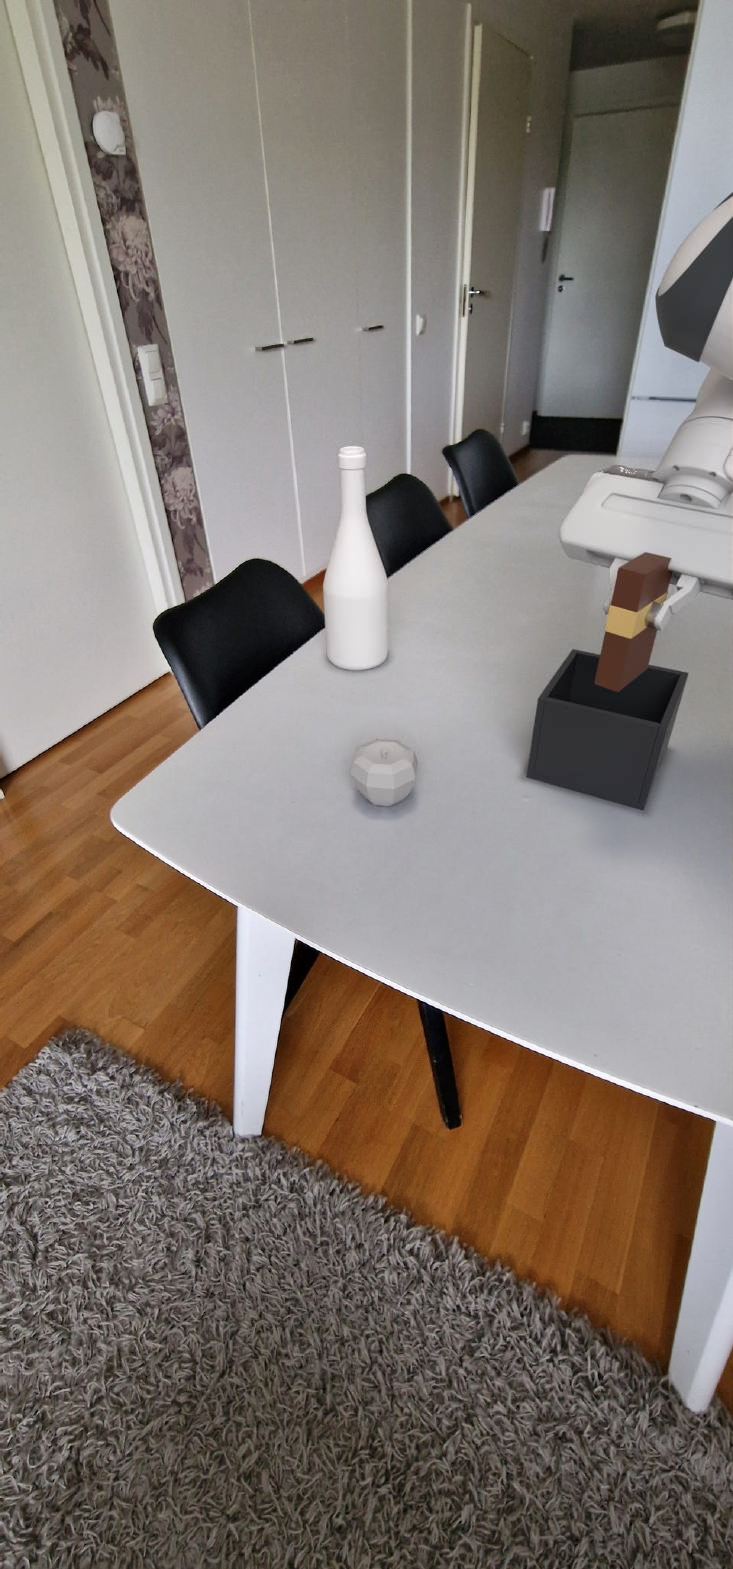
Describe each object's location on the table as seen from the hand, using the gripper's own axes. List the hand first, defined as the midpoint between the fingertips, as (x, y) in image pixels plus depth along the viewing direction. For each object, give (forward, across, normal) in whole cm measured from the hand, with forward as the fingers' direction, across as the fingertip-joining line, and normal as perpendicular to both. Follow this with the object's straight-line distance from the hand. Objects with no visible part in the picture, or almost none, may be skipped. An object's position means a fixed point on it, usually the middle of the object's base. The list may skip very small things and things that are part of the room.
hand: (631, 620), depth 62 cm
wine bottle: (+8, -46, +26) cm, 53 cm away
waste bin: (+9, -4, +25) cm, 27 cm away
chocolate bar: (+4, 0, +5) cm, 6 cm away
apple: (+25, -20, +9) cm, 33 cm away
